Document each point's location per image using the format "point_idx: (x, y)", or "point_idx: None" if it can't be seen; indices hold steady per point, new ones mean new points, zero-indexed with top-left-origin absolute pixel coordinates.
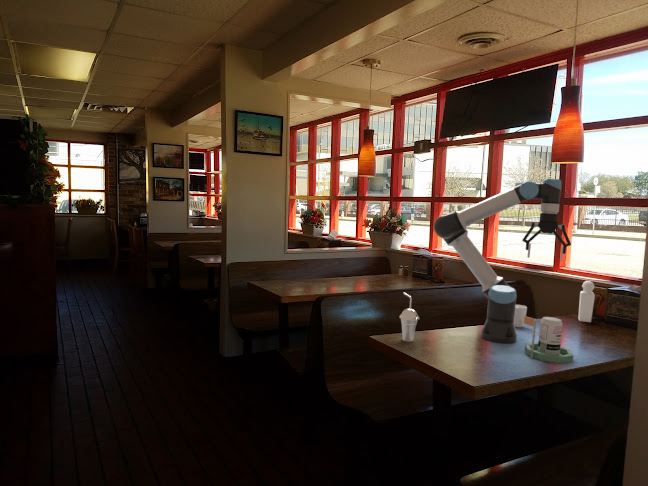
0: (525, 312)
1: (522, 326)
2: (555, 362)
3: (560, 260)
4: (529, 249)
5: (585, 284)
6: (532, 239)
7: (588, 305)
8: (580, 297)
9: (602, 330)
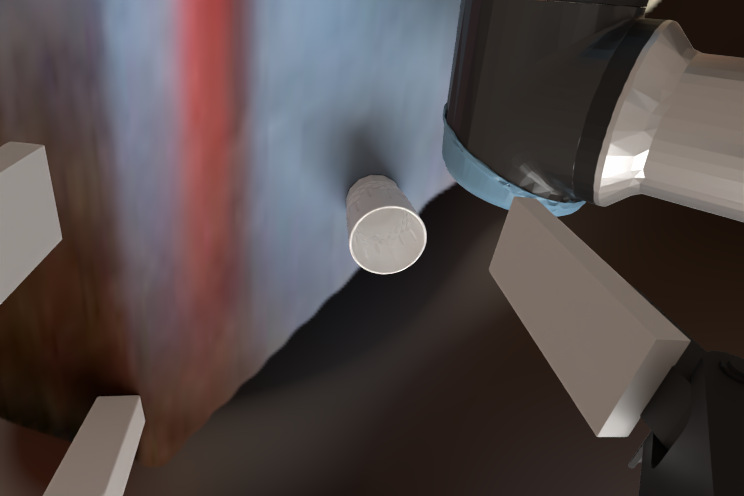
0: (353, 214)
1: (353, 185)
2: None
3: (30, 145)
4: (587, 262)
5: None
6: (711, 444)
7: (86, 451)
8: (114, 486)
9: (40, 309)
